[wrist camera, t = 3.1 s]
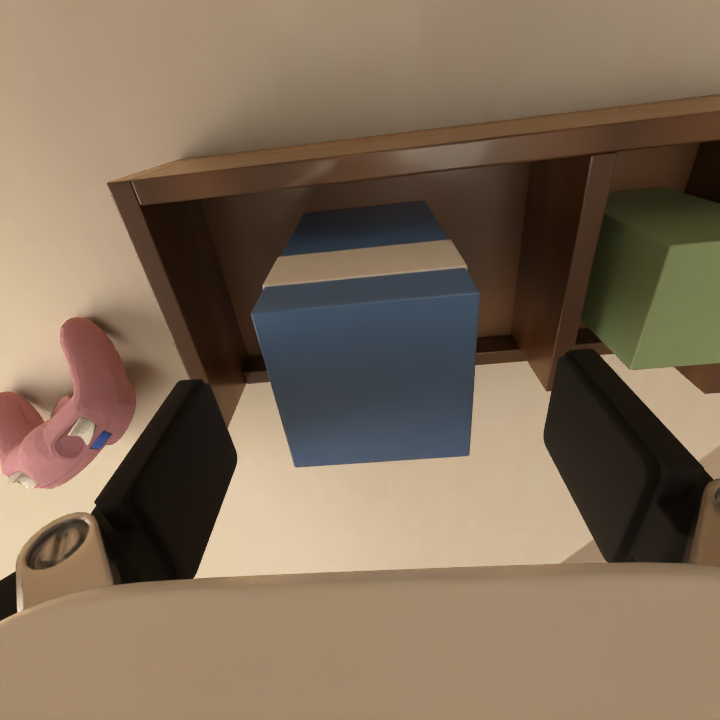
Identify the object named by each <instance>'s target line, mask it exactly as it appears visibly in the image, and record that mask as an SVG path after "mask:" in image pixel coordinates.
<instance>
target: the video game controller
mask: <svg viewBox="0 0 720 720" xmlns="http://www.w3.org/2000/svg"><path fill="white" fill-rule="evenodd" d="M60 343H61V346H62V349H63V352H64V355H65V358H66V360H67V363H68V366H69V369H70V373H71V377H72V380H73V387H74V393H73V396H72V397H70V396H65V397H63V398H61V399H60V401H59V402H58V403H57V405H56V406H55V408H54V410H53V412H52V415H51V418H50V420H48V421H46V422H44V421H43V419H42V417H41V416H40V414H39V413H38V412H37V410H36V409H35V408H34V407H33V406H32V405H31V404H30V403H29V402H28V401H27V400H25V399H24V398H23V397H21V396H19V395H18V394H16V393H13V392H1V393H0V463H1V469H2V472H3V474H4V475H6V476H7V477H9V480H8V484H11V483H14V482H18V483H20V484H22V485H23V486H24V487H26V488H46V489H52V488H55V487H56V486H60V485H62V484H63V483H65V482H67V481H69V480H70V479H72V478H73V477H75V476H76V475H77V474H78V473H79V472H80V471H82V470H83V469H84V468H85V467H86V466H87V465H88V464H89V463H90V462H91V461H92V460H93V459H94V458H95V457H96V456H97V454H98V453H99V452H100V451H101V450H102V448H103V447H104V446H105V445H111V444H114V443H116V442H117V441H118V440H119V439H120V438H121V437H122V436H123V434H124V433H125V431H126V430H127V428H128V426H129V424H130V422H131V420H132V417H133V414H134V411H135V406H136V391H135V389H134V387H133V386H131V385H130V384H129V381H128V378H127V375H126V372H125V369H124V366H123V363H122V361H121V358H120V356H119V354H118V352H117V350H116V348H115V347H114V345H113V343H112V342H111V340H110V339H109V338H108V336H107V335H106V333H105V332H104V331H103V330H102V329H101V328H100V327H99V326H98V325H96V324H95V323H93V322H92V321H90V320H89V319H87V318H79V317H75V318H71V319H69V320H67V321H66V322H65V323H64V324H63V325H62V327H61V329H60Z"/></svg>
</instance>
